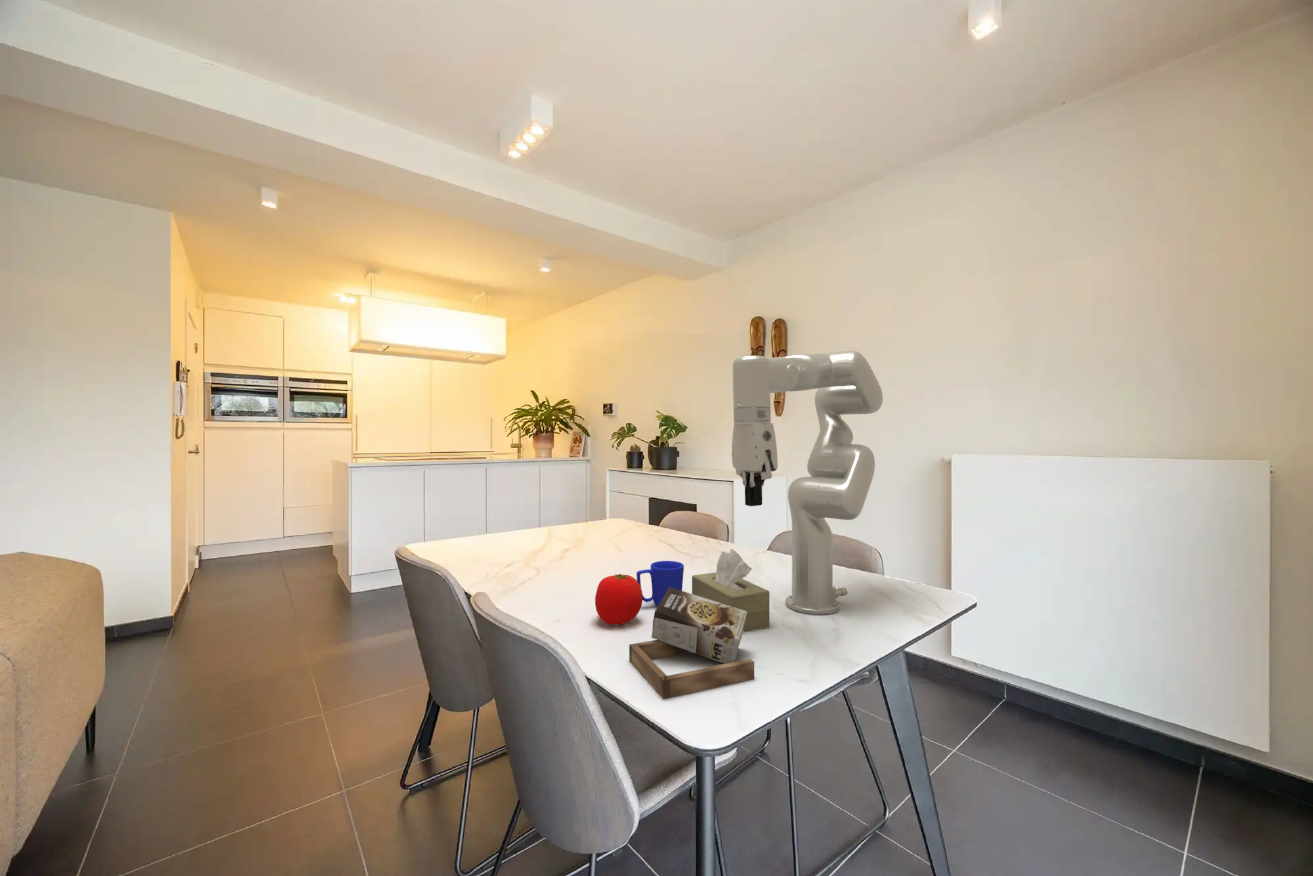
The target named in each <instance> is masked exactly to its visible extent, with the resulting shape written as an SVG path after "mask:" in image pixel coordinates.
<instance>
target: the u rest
mask: <svg viewBox="0 0 1313 876" xmlns="http://www.w3.org/2000/svg"><path fill="white" fill-rule="evenodd" d="M628 645H629V646H628V647H629V649H628V650H629V652H628V655H629V656H628V659H629V662H630V664H632V666H634V668H635V669H636V670H637V671H638V672H639V673H640V675H641V676H642V677H643V678H644V679H645V680H646V682H647V683H648V684H649V685H650V686H651V687H652V688H653V689H654V690H655V692H656V693H657V694H658V695H659V696H660V697H661V699H662V700H666V699H671V698H674V697H678V696H679V697H680V696H684V695H687V694H692V693H696V692H701V691H702V692H703V691H706V690H711V689H714V688H715V689H716V688H721V687H725V686H728V685H733V684H738V683H742V682H746V681H747V682H748V681H751V680H754V679H755V660H753V659H751V658H748V659H743V660H738V661H734V662H732V663H727V664H724V663H721V664H717V665H713V666H708V667H703V668H699V669H694V670H689V671H684V672H679V673H673V674H668V675H667V674H666V673H665V672H664V671H663V670H662V669H661V668H660V667H659V666H658V665H657V664H656V663H655V662H654V661H653V660H655V659H661V658H667V657H672V656H676V655H683V654H688V653H691V652H690V651H687V650H685V649H682V648H679V647H676V646H673V645H671V644H668V643H665V642H662V641H659V640H657V639H653V640H648V641H642V642H636V643H630V644H628Z"/></svg>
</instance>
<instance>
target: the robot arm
mask: <svg viewBox="0 0 1313 876" xmlns="http://www.w3.org/2000/svg"><path fill="white" fill-rule="evenodd" d="M816 389H817V390H816ZM809 390H816V392H815V395H814V404H815V405H814V406H815V410H816V414H817V419H818V424H819V433H818V436H817V438H816V441H815V443H814V445H813V447H812V450H811V452H810V454H809V458H808V460H807V467H806V468H807V472H808V474H809V476H802V477H798V478H796V479H794V480H793V481H792V482H791V483H790V485H789V487H788V491H787V499H788V506H789V510H790V515H791V516H790V517H791V595H789V596H787V597H786V598H785V605H786V607H787V608H789V609H790V610H793V611H795V612H799V613H804V614H810V615H829V614H834V613H836V612H838V611H839V610H840V602H838V601H837V599H838V597H844V596H847V595H848V589H847V587H838V588H836V587H835V586H834V585H833V584H834V583H833V582H834V581H833V577H834V576H833V575H834V573H833V572H834V571H833V569H834V567H833V566H834V563H833V562H834V560H833V559H834V558H833V557H834V556H833V553H834V552H833V548H834V547H833V544H834V537H833V533H832V530H831V528H830V526H829V524H828V522H827V521H826V519H835V520H843V521H851V520H855V519H857V518H858V517H859V516H860V514H861V512H862V510H863V508H864V505H865V502H866V499H867V498H868V497H867V496H868V494H869V490H870V487H871V484H872V481H873V478H874V474H875V468H876V459H875V455H874V453H873V451H872V449H871V448H870V447H868V446H866V445H863V444H859V443H857V444H856V443H853V439H854V434H853V432H852V428H850V426H849V425H848V424H847V422H846V421H845V420H844V419H843V418H842V416H843V415H845V416H846V415H870V414H871V415H872V414H874V413H876V412H877V411H879V410H880V409H881V408H882V405H883V402H884V401H883V400H884V397H883V391H882V388H881V385H880V382H879V381H878V379H877V377H876V375H875V372H874V371H873V369H872V367H871V365H870V364H869V362H868V360H867V359H866V358H865V356H864V355H863V354H862V353H860V352H859V351H857V350H846V351H837V352H827V353H826V352H825V353H810V354H809V353H807V354H805V353H802V354H795V355H789V356H788V355H787V356H778V357H777V356H776V357H766V356H763V355H745V356H739V357H737V358H735V359H734V360H733V363H732V395H733V396H732V399H733V406H732V407H733V429H732V438H731V440H732V442H731V463H732V467H733V468H734V469H735V474H736V475H737V476H739V477H741V480H742V484H743V486H744V505H745V506H747V507H757V506H758V507H759V506H762V505H763V486H764V485H765V481H766V480H769V479H772V477H773V474H772V472H775V471H776V472H777V469H778V466H779V465H778V463H779V462H778V449H777V447H778V446H777V440H776V439H777V438H776V432H775V426H774V424H773V423H772V421H771V418H772V417H771V394H775V393H776V394H777V393H785V392H801V391H802V392H803V391H809ZM852 443H853V444H852Z"/></svg>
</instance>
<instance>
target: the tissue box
mask: <svg viewBox="0 0 1313 876" xmlns="http://www.w3.org/2000/svg"><path fill="white" fill-rule="evenodd" d="M752 570H753V568H752V567H751V566H749V565H748V564H747V563H746V562H745V561H744V559H743V558H742V557H741V555H740V554H739V553H738V552H737V551H736V550H735V549H732V548H730V549H729V552H727V551H722V552H720V555H719V557H718V560H717V564H716V572H709V573H699V574H693V575H692V576H691V594H693V595H696V596H700V597H703V598H706V599H709V600H712V601H715V602H719V603H722V604H725V605H728V606H731V607H735V608H738V609H741V610H744V611H747V616H746V620H745V625H744V629H743V633H744V632H749V631H750V632H751V631H754V630H760V629H761V630H762V629H766V628H770V591H769V590H768V589H765V588H763V587H761V586H759V585H756V584H755V583H752V582H751V581H748V580H746V579H744V578H745V577H747V576H748V575H749V574H750V572H751V571H752Z"/></svg>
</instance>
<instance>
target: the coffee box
mask: <svg viewBox="0 0 1313 876" xmlns="http://www.w3.org/2000/svg"><path fill="white" fill-rule="evenodd" d="M746 616H747V611H744V610H741V609H738V608H735V607H731V606H728V605H725V604H722V603H719V602H715V601H712V600H709V599H706V598H703V597H700V596H696V595H693V594H692V593H689V592H686V591H684V590H682V591H681V590H677V589H674V588H671V587H669V588H668V590H667V592H666V593H665V595H664V597H663V598H662V600H661V602H660V603H659V605H658V606H656V608H655V610H654V614H653V620H652V631H651V637H650V638H651V639H653V640H659V641H662V642H665V643H668V644H671V645H673V646H676V647H679V648H682V649H685V650H687V651H690V652H689V653H694V654H696V655H699V656H702V657H705V658H707V659H710V660H714V661H716V662H718V663H721V664H727V663H732V662H736V661H735V660H736V658H737V654H738V650H739V647H740V643H741V639H742V637H743V633H744V632H743V629H744V625H745V620H746Z"/></svg>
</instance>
